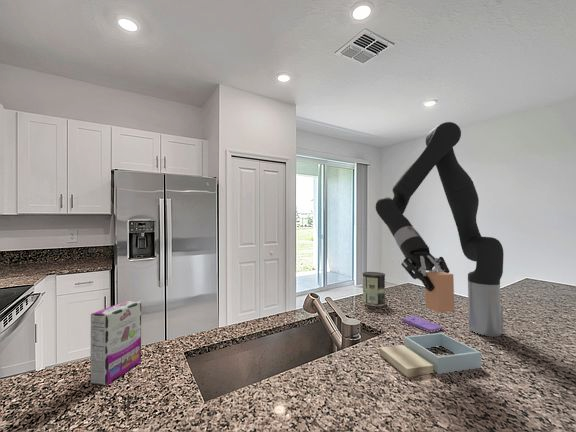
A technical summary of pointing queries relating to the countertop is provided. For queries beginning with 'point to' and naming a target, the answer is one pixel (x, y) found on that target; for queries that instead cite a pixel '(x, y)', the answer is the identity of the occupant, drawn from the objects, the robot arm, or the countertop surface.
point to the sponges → (421, 323)
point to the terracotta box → (440, 292)
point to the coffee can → (374, 288)
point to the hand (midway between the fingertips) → (440, 288)
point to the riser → (406, 360)
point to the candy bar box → (115, 341)
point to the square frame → (444, 364)
